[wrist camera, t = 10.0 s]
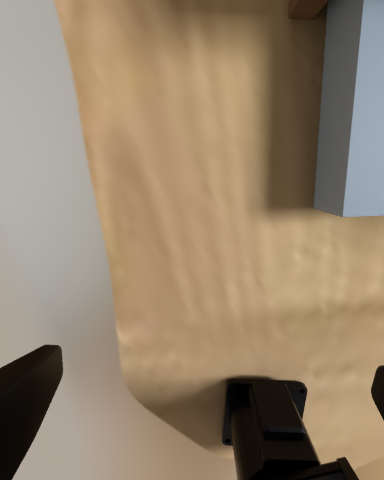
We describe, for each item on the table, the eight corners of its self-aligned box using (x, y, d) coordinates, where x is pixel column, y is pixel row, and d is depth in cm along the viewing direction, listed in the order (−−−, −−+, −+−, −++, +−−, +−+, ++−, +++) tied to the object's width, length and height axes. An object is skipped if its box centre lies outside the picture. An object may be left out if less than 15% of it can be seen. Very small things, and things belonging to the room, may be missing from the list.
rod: (369, 205, 18) (415, 213, 15) (311, 207, 19) (342, 217, 15) (405, -88, 14) (482, -183, 11) (331, -83, 15) (381, -175, 11)
